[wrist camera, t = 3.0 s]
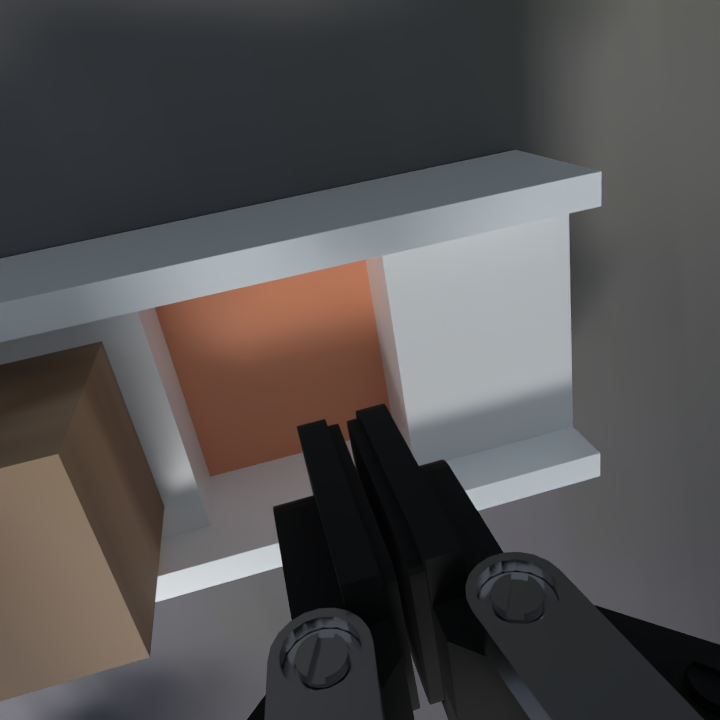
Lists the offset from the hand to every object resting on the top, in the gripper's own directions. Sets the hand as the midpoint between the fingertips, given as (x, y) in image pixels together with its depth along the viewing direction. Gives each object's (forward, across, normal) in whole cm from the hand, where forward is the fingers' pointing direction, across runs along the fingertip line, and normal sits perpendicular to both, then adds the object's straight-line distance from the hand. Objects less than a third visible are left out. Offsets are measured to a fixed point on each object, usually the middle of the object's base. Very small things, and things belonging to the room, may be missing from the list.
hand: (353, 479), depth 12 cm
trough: (+8, +6, +1) cm, 10 cm away
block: (+5, +7, +1) cm, 9 cm away
